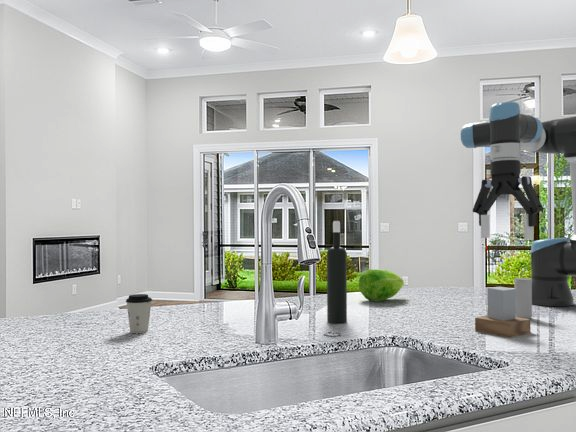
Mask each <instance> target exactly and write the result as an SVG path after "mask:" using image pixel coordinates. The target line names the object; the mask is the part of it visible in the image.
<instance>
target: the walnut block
mask: <svg viewBox="0 0 576 432" xmlns="http://www.w3.org/2000/svg"><path fill="white" fill-rule="evenodd" d="M474 328H475V329H474V330H475V332H478V333H483V334H489V335H493V336H499V337H503V338H515V337H518V336H522V335H525V334H530V333H531V332H532V331H531V318H530V319H526V318H520V317H516V318H515V319H511V320H505V321H502V320H497V319H493V318H488V317H487V315H482V316H476V317H475V318H474Z"/></svg>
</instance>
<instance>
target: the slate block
mask: <svg viewBox="0 0 576 432" xmlns="http://www.w3.org/2000/svg"><path fill="white" fill-rule="evenodd" d="M486 296H487V299H486V300H487V302H486V306H487V307H486V308H487V311H486V313H487V314H486V316H487V317H488V318H493V319H497V320H502V321H505V320H511V319H515V318H516V289H514V288H513V287H512V288H511V287H505V286H493V287H487V295H486Z"/></svg>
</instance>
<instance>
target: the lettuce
mask: <svg viewBox="0 0 576 432" xmlns="http://www.w3.org/2000/svg"><path fill="white" fill-rule="evenodd" d="M404 286H405V282H404V279H403V278H401V276H399V275H398V274H396V273H395V272H393V271H391V270H387V269H371V268H369V269H366V270H364V271H363V272H362V273H361V275H360V277H359V279H358V288H359V289H358V290H359V291H360V293H361V294H362V296H363V297H364V298H365V299H366V300H368V301H371V302H376V303H378V302H383V301H385V300H387V299H388V300H389V299H391V298H393V297H394V296H396V295H397V294H398V292H400V290H402V288H403V287H404Z"/></svg>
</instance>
